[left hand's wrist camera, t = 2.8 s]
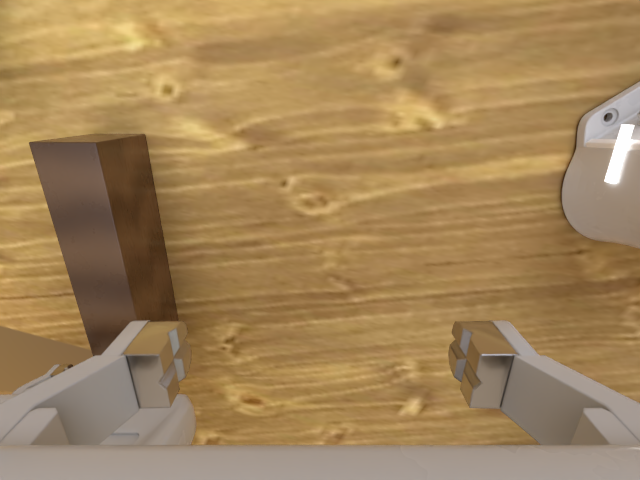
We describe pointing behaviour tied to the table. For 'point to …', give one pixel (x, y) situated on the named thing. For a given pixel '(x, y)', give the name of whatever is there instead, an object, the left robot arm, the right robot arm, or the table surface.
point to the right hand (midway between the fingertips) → (113, 368)
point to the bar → (107, 230)
